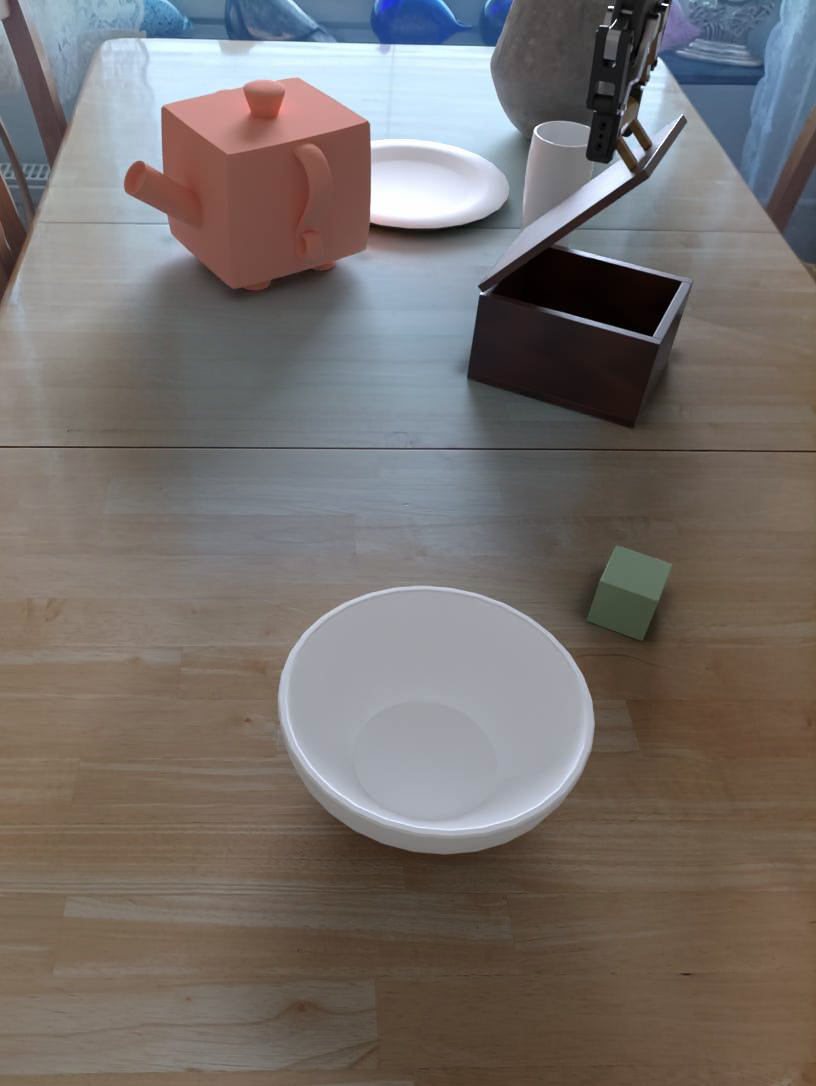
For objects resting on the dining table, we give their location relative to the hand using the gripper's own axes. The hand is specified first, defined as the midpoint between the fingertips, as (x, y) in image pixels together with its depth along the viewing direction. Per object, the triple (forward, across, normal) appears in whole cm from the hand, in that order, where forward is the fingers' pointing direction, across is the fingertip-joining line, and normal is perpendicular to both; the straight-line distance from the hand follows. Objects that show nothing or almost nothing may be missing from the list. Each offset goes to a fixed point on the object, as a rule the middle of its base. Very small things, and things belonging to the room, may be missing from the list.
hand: (609, 146), depth 81 cm
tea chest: (+21, 0, 0) cm, 21 cm away
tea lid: (+6, 0, +1) cm, 6 cm away
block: (+21, -30, -14) cm, 40 cm away
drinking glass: (+21, +17, +8) cm, 28 cm away
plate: (+21, +28, +29) cm, 46 cm away
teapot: (+20, +2, +38) cm, 44 cm away
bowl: (+21, -50, -6) cm, 55 cm away
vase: (+21, +55, +19) cm, 62 cm away
